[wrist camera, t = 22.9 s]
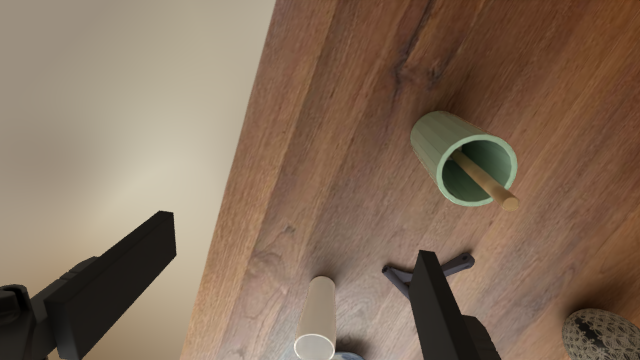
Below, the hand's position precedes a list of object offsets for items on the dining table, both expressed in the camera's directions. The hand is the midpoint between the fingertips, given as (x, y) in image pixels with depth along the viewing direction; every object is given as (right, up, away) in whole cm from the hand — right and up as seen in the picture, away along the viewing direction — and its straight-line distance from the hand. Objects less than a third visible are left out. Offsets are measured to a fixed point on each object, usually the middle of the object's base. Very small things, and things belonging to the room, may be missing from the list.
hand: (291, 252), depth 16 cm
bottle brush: (+20, +10, +32) cm, 40 cm away
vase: (+20, +11, +33) cm, 40 cm away
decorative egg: (+52, -23, +43) cm, 71 cm away
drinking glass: (+2, -18, +46) cm, 50 cm away
